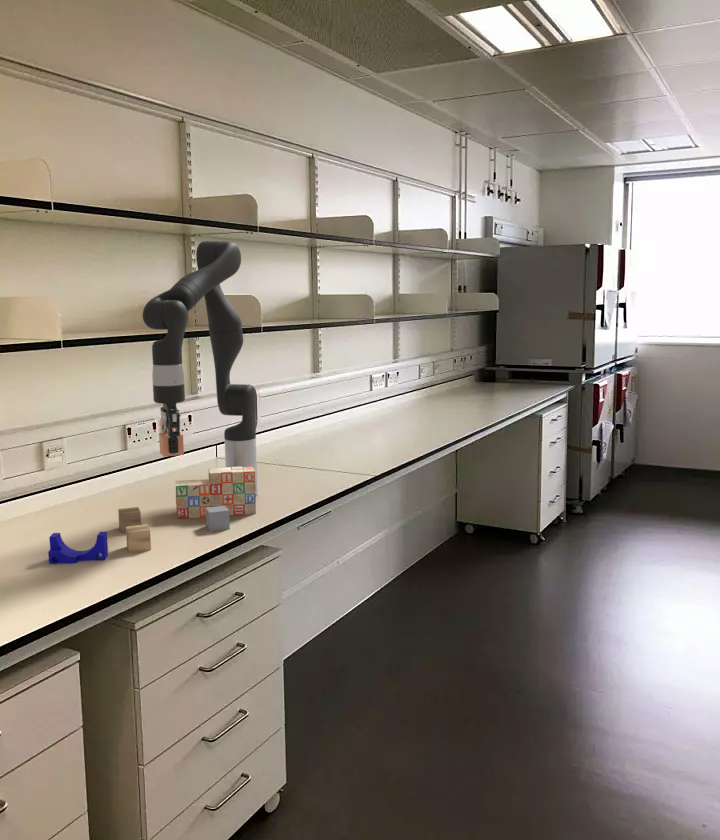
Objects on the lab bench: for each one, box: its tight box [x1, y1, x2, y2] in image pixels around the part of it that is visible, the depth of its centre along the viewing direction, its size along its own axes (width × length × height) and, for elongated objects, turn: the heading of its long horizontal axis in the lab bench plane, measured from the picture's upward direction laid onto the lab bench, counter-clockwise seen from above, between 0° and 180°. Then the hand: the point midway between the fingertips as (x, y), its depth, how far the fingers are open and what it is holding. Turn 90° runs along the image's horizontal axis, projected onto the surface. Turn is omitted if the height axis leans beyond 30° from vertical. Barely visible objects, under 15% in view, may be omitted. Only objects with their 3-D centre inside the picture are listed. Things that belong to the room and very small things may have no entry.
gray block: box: [205, 506, 231, 532], centre depth 205 cm, size 5×5×5 cm
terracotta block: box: [158, 432, 185, 457], centre depth 196 cm, size 5×5×5 cm
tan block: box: [117, 506, 142, 534], centre depth 204 cm, size 5×5×5 cm
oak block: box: [125, 523, 152, 554], centre depth 189 cm, size 5×5×5 cm
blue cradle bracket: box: [47, 531, 109, 565], centre depth 181 cm, size 12×4×6 cm, turn 94°
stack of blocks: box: [175, 467, 257, 519], centre depth 217 cm, size 21×6×12 cm, turn 102°
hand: (171, 450), depth 197 cm, fingers closed on terracotta block, 5 cm apart
